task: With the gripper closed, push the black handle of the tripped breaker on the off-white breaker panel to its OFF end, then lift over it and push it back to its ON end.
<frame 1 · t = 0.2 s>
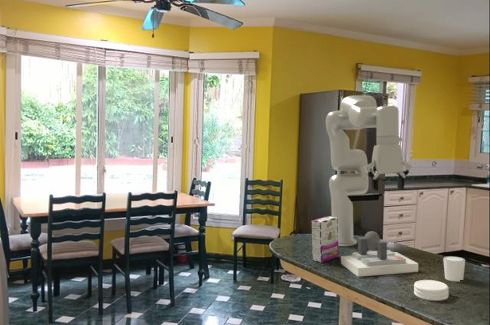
hand: (387, 189, 164), 30 cm above the kitchen island, tool pointing down, fingers open, 9 cm apart
candy bar box: (325, 259, 186), on the kitchen island
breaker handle: (381, 249, 168), point 8 cm above the kitchen island, slide at 4.0 cm
white ribbed round piece: (431, 296, 144), on the kitchen island
light bulb: (372, 255, 190), on the kitchen island
breaker panel: (378, 267, 173), on the kitchen island
light grey cup: (454, 279, 159), on the kitchen island
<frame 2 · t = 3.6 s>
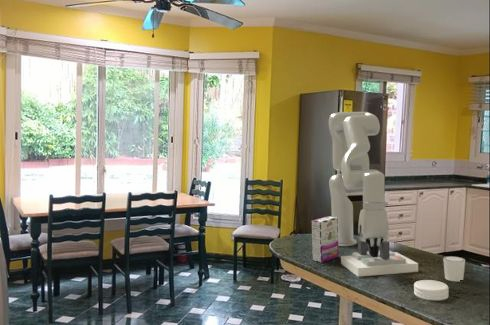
hand: (373, 256, 168), 6 cm above the kitchen island, tool pointing down, fingers closed
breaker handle: (384, 249, 169), point 8 cm above the kitchen island, slide at 5.1 cm, touching gripper
everything else where it was.
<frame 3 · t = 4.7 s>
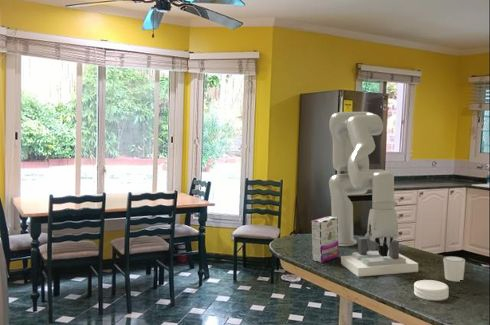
hand: (383, 255, 169), 6 cm above the kitchen island, tool pointing down, fingers closed
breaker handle: (393, 249, 169), point 8 cm above the kitchen island, slide at 8.7 cm, touching gripper
everything else where it was.
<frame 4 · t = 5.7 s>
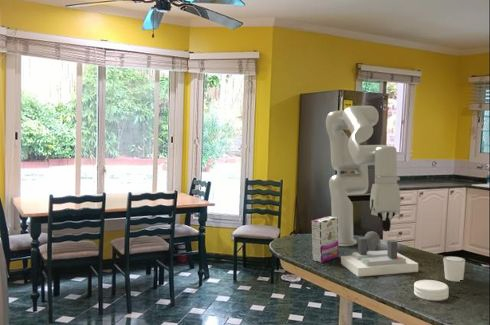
hand: (385, 230, 168), 15 cm above the kitchen island, tool pointing down, fingers closed
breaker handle: (392, 249, 169), point 8 cm above the kitchen island, slide at 8.1 cm
everything else where it was.
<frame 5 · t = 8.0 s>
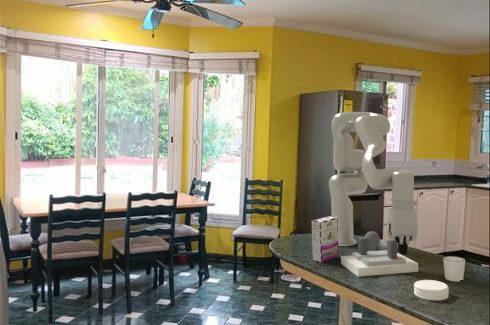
hand: (402, 254, 170), 6 cm above the kitchen island, tool pointing down, fingers closed
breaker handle: (392, 249, 169), point 8 cm above the kitchen island, slide at 8.0 cm, touching gripper
everything else where it was.
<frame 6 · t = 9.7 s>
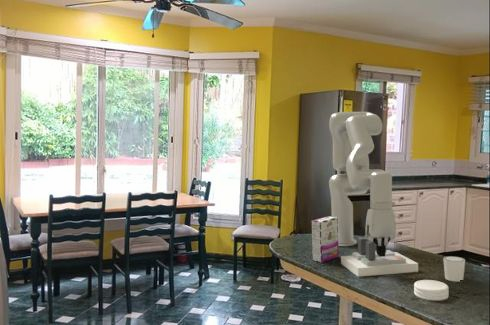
hand: (381, 255, 169), 6 cm above the kitchen island, tool pointing down, fingers closed
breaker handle: (370, 250, 168), point 8 cm above the kitchen island, slide at -0.4 cm, touching gripper
everything else where it was.
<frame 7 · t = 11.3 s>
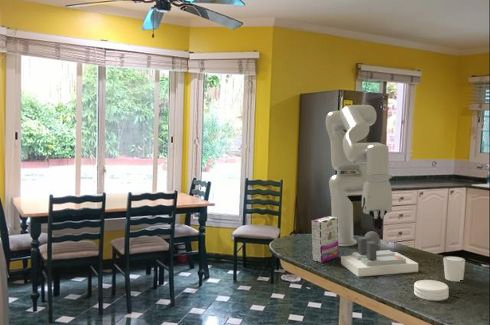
hand: (377, 228, 168), 16 cm above the kitchen island, tool pointing down, fingers closed
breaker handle: (371, 250, 168), point 8 cm above the kitchen island, slide at -0.1 cm
everything else where it was.
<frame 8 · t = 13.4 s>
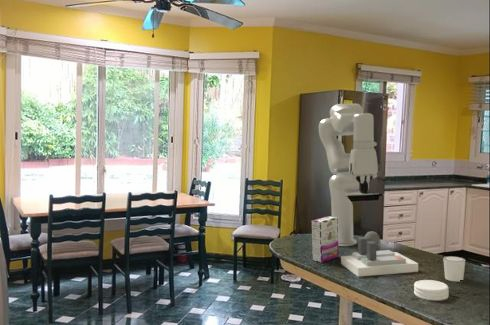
hand: (363, 193, 179), 27 cm above the kitchen island, tool pointing down, fingers closed
nothing on the kitchen island moved.
at the end: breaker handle slide at -0.1 cm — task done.
